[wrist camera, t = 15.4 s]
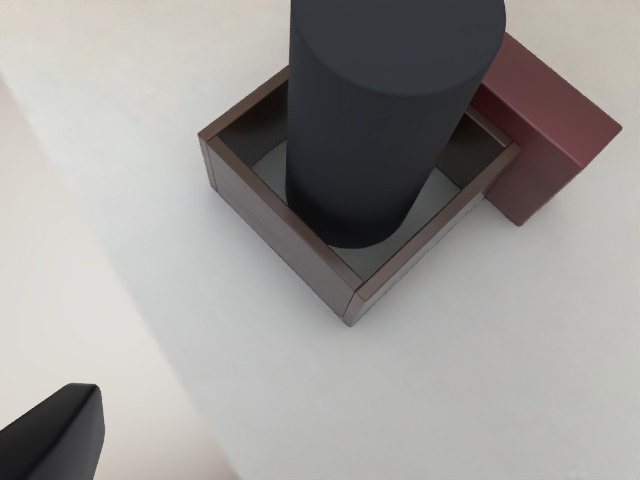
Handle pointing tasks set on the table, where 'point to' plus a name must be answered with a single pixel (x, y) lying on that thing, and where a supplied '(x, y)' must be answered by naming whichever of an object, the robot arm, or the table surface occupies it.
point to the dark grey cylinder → (377, 105)
